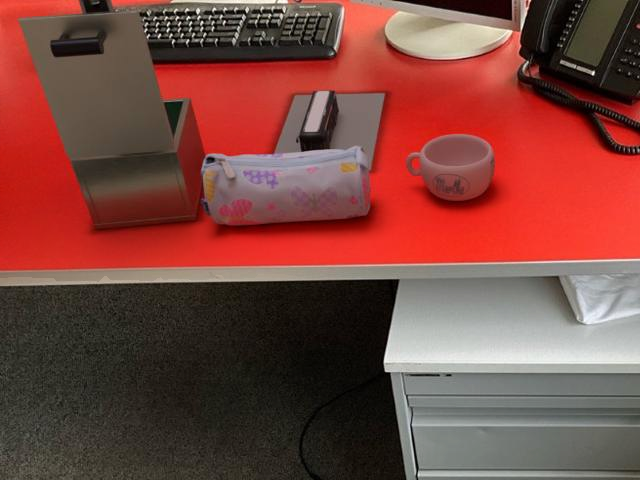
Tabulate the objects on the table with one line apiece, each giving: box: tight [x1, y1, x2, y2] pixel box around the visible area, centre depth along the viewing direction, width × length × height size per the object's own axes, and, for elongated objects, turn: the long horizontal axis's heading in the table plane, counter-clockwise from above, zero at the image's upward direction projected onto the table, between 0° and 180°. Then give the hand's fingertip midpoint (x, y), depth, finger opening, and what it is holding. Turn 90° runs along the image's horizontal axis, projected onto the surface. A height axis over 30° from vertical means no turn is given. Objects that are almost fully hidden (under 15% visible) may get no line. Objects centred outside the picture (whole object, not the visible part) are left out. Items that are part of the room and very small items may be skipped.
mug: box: [405, 133, 496, 202], centre depth 119 cm, size 12×10×6 cm
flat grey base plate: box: [273, 89, 386, 172], centre depth 133 cm, size 14×25×4 cm, turn 1°
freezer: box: [69, 97, 207, 230], centre depth 118 cm, size 16×13×10 cm
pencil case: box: [200, 146, 371, 227], centre depth 113 cm, size 21×9×10 cm, turn 92°
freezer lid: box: [17, 9, 176, 160], centre depth 101 cm, size 16×13×5 cm
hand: (112, 56), depth 109 cm, fingers closed on beverage can, 6 cm apart
